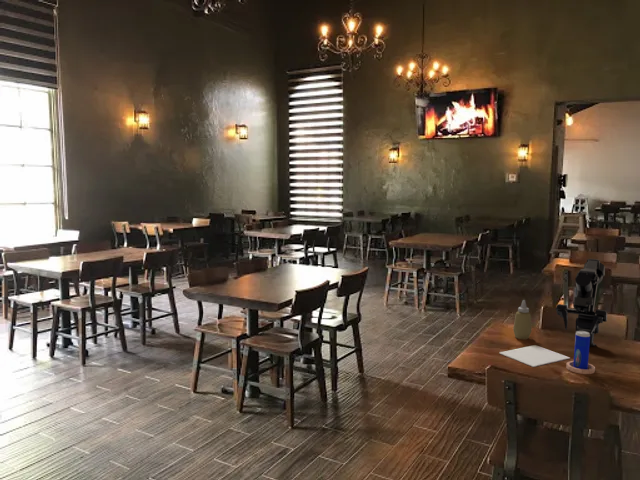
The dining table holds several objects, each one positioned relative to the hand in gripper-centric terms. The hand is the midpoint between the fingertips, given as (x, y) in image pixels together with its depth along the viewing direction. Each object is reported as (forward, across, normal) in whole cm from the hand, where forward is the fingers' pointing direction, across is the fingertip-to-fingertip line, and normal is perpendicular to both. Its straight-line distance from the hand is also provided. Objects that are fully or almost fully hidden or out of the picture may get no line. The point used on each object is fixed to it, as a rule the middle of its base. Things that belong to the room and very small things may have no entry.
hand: (578, 331), depth 216 cm
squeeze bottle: (-2, -26, +24) cm, 36 cm away
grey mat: (+12, -16, +6) cm, 21 cm away
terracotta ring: (+15, +3, +2) cm, 15 cm away
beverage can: (+15, +3, +2) cm, 16 cm away
